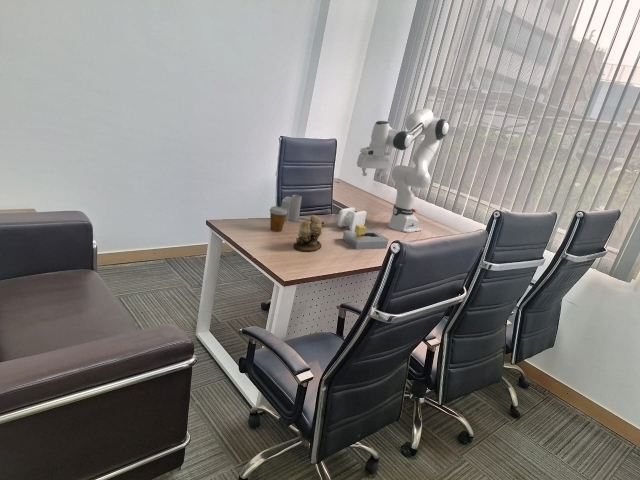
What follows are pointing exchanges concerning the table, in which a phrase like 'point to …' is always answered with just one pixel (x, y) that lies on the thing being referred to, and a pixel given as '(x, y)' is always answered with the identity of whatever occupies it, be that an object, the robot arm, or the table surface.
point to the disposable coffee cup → (277, 218)
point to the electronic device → (293, 208)
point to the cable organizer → (351, 218)
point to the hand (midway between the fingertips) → (371, 176)
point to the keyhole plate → (365, 240)
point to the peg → (360, 230)
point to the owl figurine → (309, 235)
